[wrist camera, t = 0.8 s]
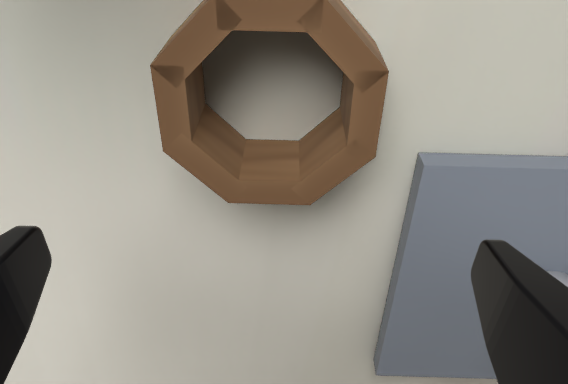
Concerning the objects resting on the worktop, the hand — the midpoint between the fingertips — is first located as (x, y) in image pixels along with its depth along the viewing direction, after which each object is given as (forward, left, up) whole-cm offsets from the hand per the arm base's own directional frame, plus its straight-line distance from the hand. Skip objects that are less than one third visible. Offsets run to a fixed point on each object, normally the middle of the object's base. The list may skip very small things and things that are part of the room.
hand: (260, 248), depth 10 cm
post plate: (-13, +10, -9) cm, 19 cm away
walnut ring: (0, 0, -9) cm, 9 cm away
